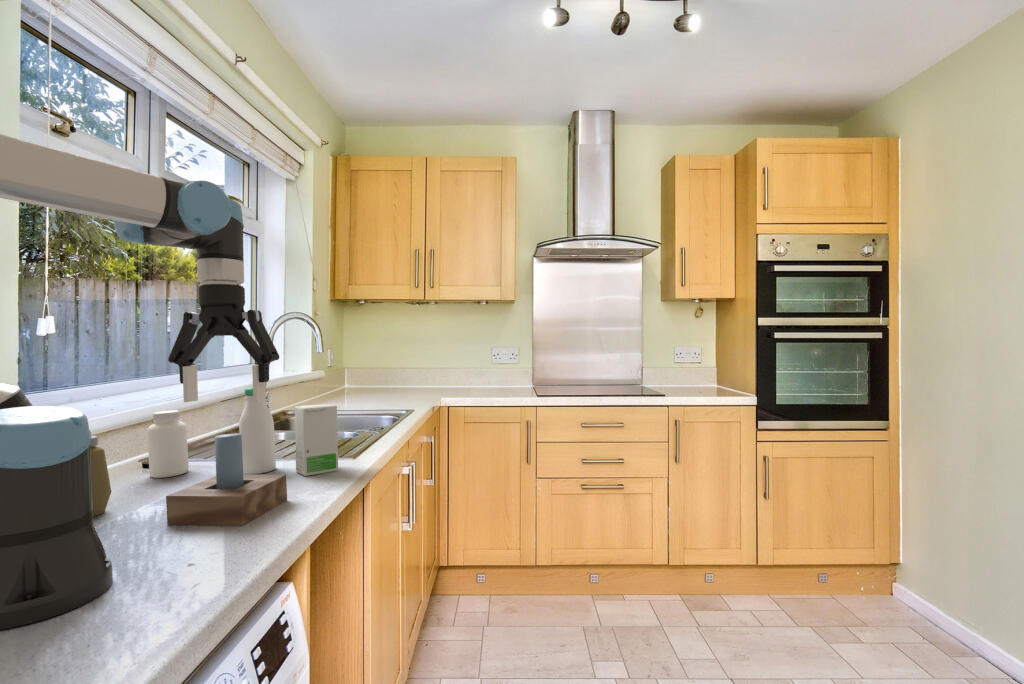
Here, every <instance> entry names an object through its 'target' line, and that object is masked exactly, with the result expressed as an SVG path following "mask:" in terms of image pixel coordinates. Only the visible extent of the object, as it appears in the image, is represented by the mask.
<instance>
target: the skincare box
mask: <svg viewBox="0 0 1024 684" xmlns="http://www.w3.org/2000/svg"><path fill="white" fill-rule="evenodd" d="M294 431H295V432H294V433H295V434H294V437H295V440H294V441H295V471H296V473H298V474H300V475H302V476H303V477H308V476H314V475H319V474H325V473H326V474H327V473H333V472H337V471H339V450H338V449H339V446H338V440H339V439H338V438H339V437H338V406H337V405H336V404H335V405H334V404H330V403H329V404H328V403H326V404H325V403H324V404H323V403H322V404H308V405H299V406H297V405H296V406H294Z"/></svg>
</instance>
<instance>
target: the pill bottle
mask: <svg viewBox="0 0 1024 684" xmlns="http://www.w3.org/2000/svg"><path fill="white" fill-rule="evenodd" d="M152 419H153V424H151V425H150V426H148V428H147V432H146V433H147V450H148V451H147V452H148V469H149V470H148V471H149V472H148V473H149V476H150V477H151V478H153V479H155V478H157V479H162V478H170V477H171V478H173V477H177V476H180V475H183V474H185V473H188V472H189V451H188V432H187V431H188V430H187V425H186V423H185V422H183V421H180V410H176V409H175V410H174V409H173V410H163V411H156V412H153V414H152Z"/></svg>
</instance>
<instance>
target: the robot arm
mask: <svg viewBox="0 0 1024 684" xmlns="http://www.w3.org/2000/svg"><path fill="white" fill-rule="evenodd" d="M0 199H4V200H8V201H9V200H10V201H14V202H18V203H24V204H30V205H35V206H39V207H46V208H51V209H54V210H55V209H56V210H60V211H65V212H71V213H76V214H81V215H86V216H90V217H91V216H92V217H97V218H102V219H107V220H112V221H113V225H114V230H115V232H116V235H117V236H118V238H119V239H120V240H122V241H124V242H129V243H134V244H139V245H140V244H141V246H145V245H149V246H158V247H159V246H160V247H170V248H181V249H188V250H196V260H197V261H196V263H197V264H196V265H197V267H196V268H197V274H196V275H197V277H196V278H197V282H198V283H200V285H198V287H197V299H198V305H199V307H200V311H199V313H198V312H194V311H193V312H192V311H185V312H184V313H183V316H182V317H183V318H182V325H181V327H180V330H179V332H178V335H177V337H176V340H175V342H174V344H173V347H172V349H171V351H170V353H169V356H168V362H169V363H171V364H176V365H177V366H178V367H179V368H178V369H179V382H180V384H182V388H183V389H182V392H183V393H182V394H183V403H190V402H196V401H198V400H199V395H198V394H199V391H198V365H196V364H195V361H196V360H197V358H198V357H199V356H200V354H202V352H203V350H204V349H205V347H206V346H207V344H208V343H209V342H210V341H211V340H212V339H213V338H214V337H215V336H216V337H221V336H222V337H223V336H232V337H233V338H235V339H236V340H237V341H238V342H239V343H240V345H241V346H242V347H243V349H245V351H246V352H247V353H248V354H249V356H250V357H251V358H252V359H253V360H254V361H255V363H254V364H252V365H251V366H252V367H251V368H252V369H251V370H252V388H253V402H257V401H262V400H265V401H266V400H267V387H266V386H267V385H266V384H267V383H268V382H270V364H271V363H273V362H274V361H279V359H280V354H279V353H278V351H277V348H276V346H275V345H274V342H273V341H272V338H271V336H270V334H269V333H268V331H267V328H266V327H265V324H264V322H263V317H262V315H263V314H262V312H261V310H260V309H259V310H258V309H257V310H256V309H248V310H247V311H245V309H244V307H245V304H246V293H245V292H246V291H245V290H246V288H245V287H244V286H243V285H241V284H244V283H245V263H244V262H245V260H244V257H245V256H244V227H245V225H244V219H243V218H244V217H243V211H242V205H240V203H239V202H238V201H236V200H234V199H233V198H229V196H228V194H227V193H226V191H224V190H223V188H221V187H220V186H218V185H217V184H215V183H214V182H211V181H208V180H190V181H188V182H182V181H179V180H175V179H170V178H166V177H162V176H158V175H153V174H151V173H146V172H142V171H139V170H135V169H132V168H128V167H124V166H119V165H117V164H112V163H109V162H105V161H102V160H99V159H93V158H90V157H87V156H83V155H78V154H75V153H72V152H68V151H65V150H60V149H57V148H54V147H49V146H45V145H42V144H38V143H34V142H31V141H26V140H23V139H19V138H17V137H12V136H8V135H5V134H2V133H0ZM245 321H246V322H247V323H248V325H249V328H250V330H251V333H253V336H254V338H255V339H254V338H253V336H252V335H251V334H250V332H249V330H248V329H247V328H246V326H245V325H244V322H245ZM199 324H201V326H200V327H199V329H198V326H199ZM197 329H198V330H197ZM195 333H196V334H195ZM92 436H93V435H92V432H91V430H90V425H89V419H88V417H87V416H86V414H85V413H84V412H82V410H79V409H76V408H73V407H68V406H53V405H33V404H32V403H31V401H30V400H29V398H28V397H27V396H26V394H25V393H24V392H23V390H22V389H21V388H20V387H19V386H17V385H12V384H8V383H7V384H6V383H2V382H0V630H1V631H2V630H5V629H10V628H15V627H20V626H24V625H28V624H33V623H37V622H39V621H43V620H47V619H49V618H52V617H55V616H56V617H57V616H58V615H61V614H64V613H66V612H69V611H71V610H74V609H76V608H79V607H81V606H82V605H84V604H87V603H89V602H91V601H93V600H95V599H96V598H98V597H99V596H100V595H102V594H104V593H105V592H106V591H107V590H108V589H109V588H110V587H111V586H112V584H113V580H114V579H113V578H114V577H113V564H112V561H111V560H110V558H109V557H108V556H107V553H106V551H105V548H104V545H103V543H102V541H101V539H100V537H99V534H98V532H97V530H96V528H95V525H94V516H93V502H92V477H91V452H90V444H91V439H92Z"/></svg>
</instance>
